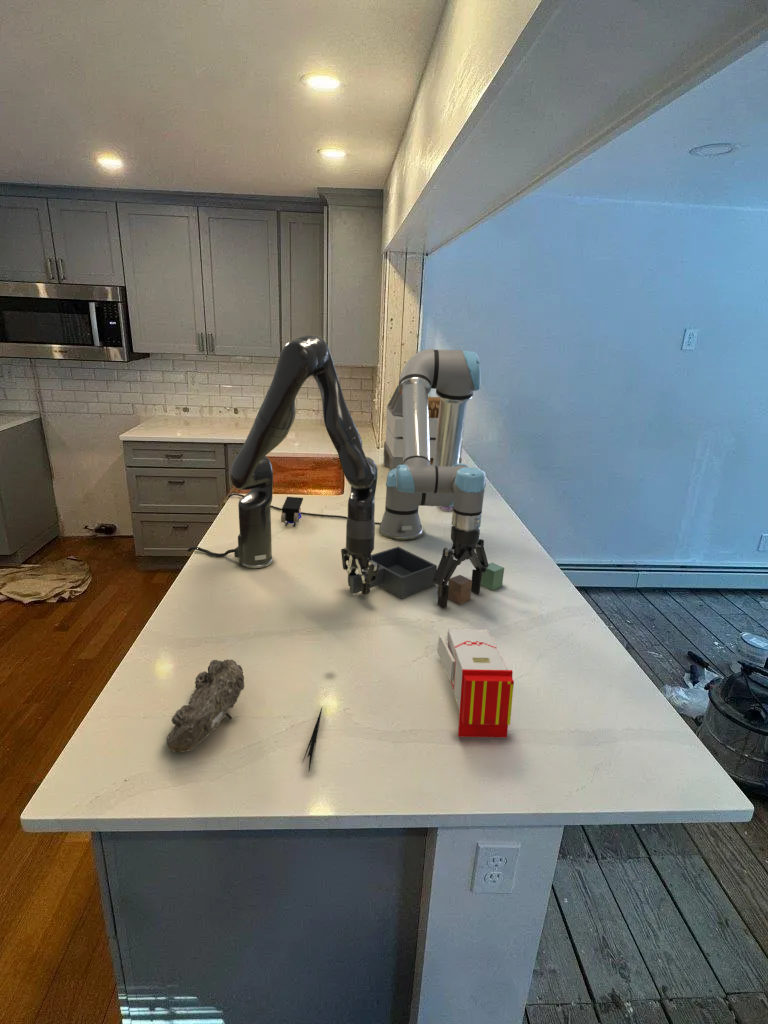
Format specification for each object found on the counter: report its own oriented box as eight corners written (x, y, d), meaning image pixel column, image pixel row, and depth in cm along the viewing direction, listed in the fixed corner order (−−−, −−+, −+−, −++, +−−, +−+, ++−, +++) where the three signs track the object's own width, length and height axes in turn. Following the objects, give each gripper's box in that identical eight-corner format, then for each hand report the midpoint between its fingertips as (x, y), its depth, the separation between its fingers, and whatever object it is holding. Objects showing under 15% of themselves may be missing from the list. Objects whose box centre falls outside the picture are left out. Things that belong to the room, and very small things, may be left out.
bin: (333, 586, 160) (333, 566, 158) (397, 565, 176) (398, 546, 173) (370, 610, 149) (371, 589, 147) (435, 585, 164) (437, 565, 162)
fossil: (192, 660, 117) (244, 628, 112) (224, 691, 120) (276, 661, 115) (142, 746, 98) (202, 712, 93) (182, 779, 101) (242, 748, 96)
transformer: (382, 463, 289) (386, 382, 275) (445, 464, 293) (451, 384, 279) (390, 482, 257) (394, 392, 243) (460, 483, 261) (468, 394, 247)
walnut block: (447, 598, 157) (448, 578, 155) (458, 593, 159) (459, 574, 157) (459, 604, 154) (461, 585, 151) (470, 600, 156) (472, 580, 154)
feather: (331, 679, 122) (336, 673, 122) (307, 777, 96) (313, 769, 95) (324, 675, 122) (329, 669, 121) (298, 772, 95) (304, 764, 95)
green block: (480, 584, 165) (482, 566, 163) (489, 580, 168) (492, 562, 166) (492, 590, 162) (494, 571, 160) (502, 586, 165) (504, 567, 163)
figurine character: (299, 532, 200) (304, 513, 214) (298, 513, 197) (303, 495, 210) (280, 532, 200) (286, 513, 213) (279, 512, 197) (285, 494, 210)
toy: (488, 613, 130) (523, 677, 101) (484, 667, 133) (517, 744, 104) (435, 612, 130) (455, 676, 101) (432, 666, 133) (451, 743, 103)
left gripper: (332, 527, 152) (332, 583, 158) (366, 544, 142) (364, 604, 148) (355, 521, 157) (353, 576, 163) (388, 538, 147) (386, 596, 153)
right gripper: (443, 541, 139) (437, 618, 146) (506, 521, 154) (498, 591, 161) (422, 532, 144) (417, 606, 151) (485, 513, 160) (477, 581, 167)
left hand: (358, 589), depth 155 cm, fingers open, 5 cm apart
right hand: (458, 598), depth 156 cm, fingers open, 13 cm apart
